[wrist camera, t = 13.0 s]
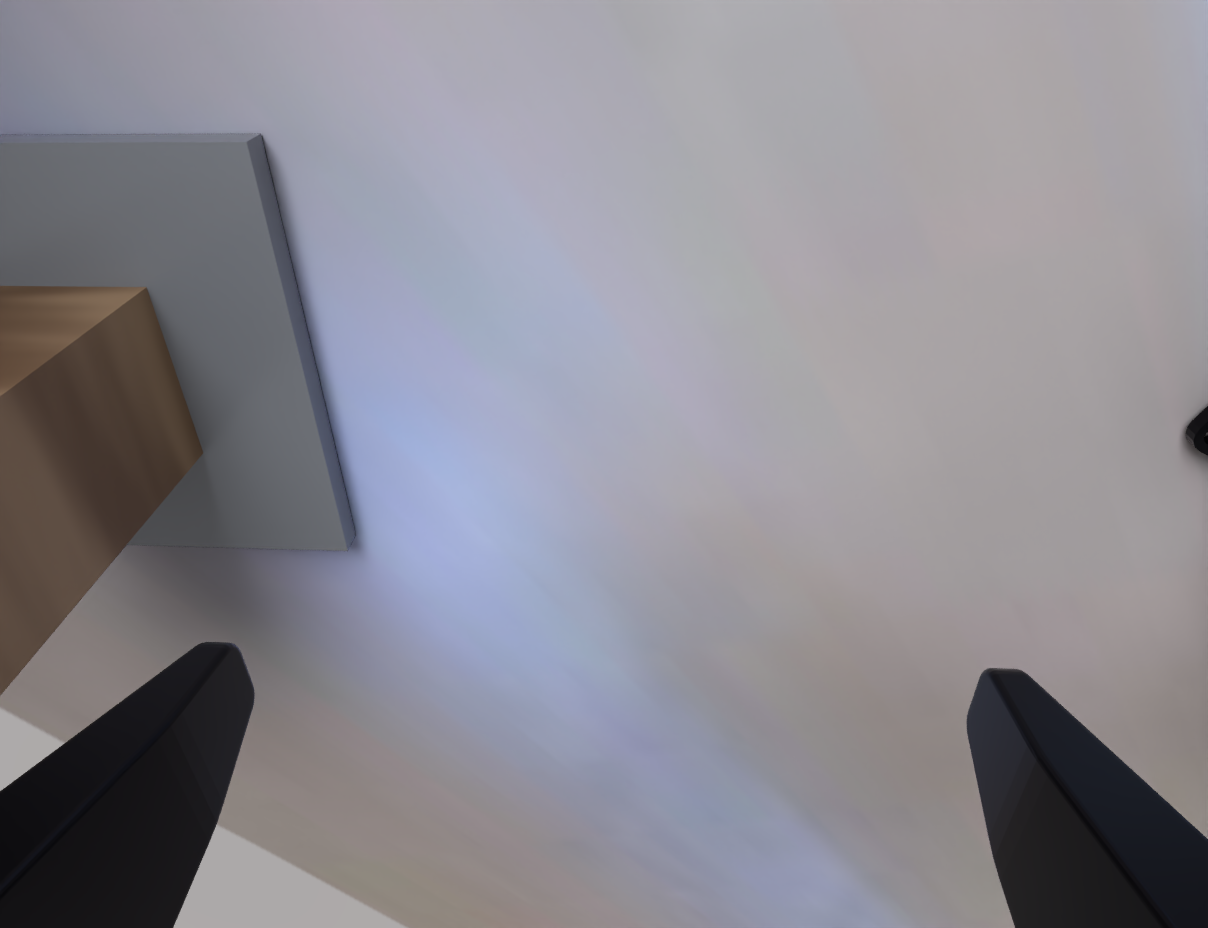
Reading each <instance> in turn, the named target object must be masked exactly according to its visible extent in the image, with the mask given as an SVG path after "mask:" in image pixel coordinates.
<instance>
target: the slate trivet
mask: <svg viewBox="0 0 1208 928" xmlns="http://www.w3.org/2000/svg"><path fill="white" fill-rule="evenodd" d="M0 286H76V287H147V290H148V293H149V296H150V299H151V302H152V304H153V307H154V310H155V313H156V316H157V319H158V322H159V325H160V328H161V331H162V334H163V337H164V339H165V342H166V345H167V348H168V351H169V354H170V357H171V360H172V363H173V366H174V369H175V371H176V374H177V377H178V380H179V383H180V386H181V389H182V392H183V395H184V398H185V401H186V404H187V406H188V409H189V412H190V415H191V418H192V421H193V424H194V427H195V430H196V433H197V436H198V439H199V441H200V444H201V447H202V450H203V454H202V455H201V457H200V458H199V459H198V460H197V461H196V463H195V464H194V465H193V466H192V467H191V468H190V470H189V471H188V472H187V473H186V474H185V476H184V477H183V478H182V479H181V480H180V482H179V483H178V484H177V485H176V486H175V488H174V489H173V490H172V491H171V492H170V494H169V495H168V496H167V497H166V498H165V500H164V501H163V502H162V503H161V504H160V505H159V507H158V508H157V509H156V510H155V511H154V513H153V514H152V515H151V516H150V517H149V519H148V520H147V521H146V522H145V523H144V525H143V526H142V527H141V528H140V529H139V531H138V532H137V533H136V534H135V535H134V537H133V538H132V539H131V540H130V541H129V543H128V544H127V545H148V546H184V547H220V548H255V549H291V550H327V551H348V550H349V548H350V546H351V543H352V541H353V539H354V537H355V535H356V533H355V529H354V525H353V520H352V516H351V512H350V508H349V504H348V499H347V495H346V491H345V487H344V482H343V478H342V474H341V470H340V466H339V461H338V457H337V453H336V449H335V444H334V440H333V436H332V432H331V428H330V423H329V419H328V415H327V411H326V407H325V402H324V398H323V394H322V390H321V385H320V381H319V377H318V373H317V369H316V364H315V360H314V356H313V352H312V347H311V343H310V339H309V335H308V331H307V326H306V322H305V318H304V314H303V309H302V305H301V301H300V297H299V293H298V288H297V284H296V280H295V276H294V271H293V267H292V263H291V259H290V255H289V250H288V246H287V242H286V238H285V233H284V229H283V225H282V221H281V217H280V212H279V208H278V204H277V200H276V195H275V191H274V187H273V183H272V179H271V174H270V170H269V166H268V162H267V157H266V153H265V149H264V145H263V141H262V136H261V134H70V135H0Z"/></svg>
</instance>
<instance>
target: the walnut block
mask: <svg viewBox="0 0 1208 928" xmlns="http://www.w3.org/2000/svg"><path fill="white" fill-rule="evenodd" d="M202 454H203V450H202V447H201V444H200V441H199V439H198V436H197V433H196V430H195V427H194V424H193V421H192V418H191V415H190V412H189V409H188V406H187V404H186V401H185V398H184V395H183V392H182V389H181V386H180V383H179V380H178V377H177V374H176V371H175V369H174V366H173V363H172V360H171V357H170V354H169V351H168V348H167V345H166V342H165V339H164V337H163V334H162V331H161V328H160V325H159V322H158V319H157V316H156V313H155V310H154V307H153V304H152V302H151V299H150V296H149V293H148V290H147V287H76V286H0V695H1V694H2V693H3V692H4V691H5V689H6V688H7V687H8V686H9V685H10V683H11V682H12V681H13V680H14V679H15V677H16V676H17V675H18V674H19V673H20V671H21V670H22V669H23V668H24V667H25V666H26V664H27V663H28V662H29V661H30V660H31V658H32V657H33V656H34V655H35V654H36V652H37V651H38V650H39V649H40V648H41V646H42V645H43V644H44V643H45V642H46V640H47V639H48V638H49V637H50V636H51V634H52V633H53V632H54V631H55V630H56V629H57V627H58V626H59V625H60V624H61V623H62V621H63V620H64V619H65V618H66V617H67V615H68V614H69V613H70V612H71V611H72V609H73V608H74V607H75V606H76V605H77V603H78V602H79V601H80V600H81V599H82V597H83V596H84V595H85V594H86V593H87V591H88V590H89V589H90V588H91V587H92V586H93V584H94V583H95V582H96V581H97V580H98V578H99V577H100V576H101V575H102V574H103V572H104V571H105V570H106V569H107V568H108V566H109V565H110V564H111V563H112V562H113V560H114V559H115V558H116V557H117V556H118V554H119V553H120V552H121V551H122V550H123V548H124V547H125V546H126V545H127V544H128V543H129V541H130V540H131V539H132V538H133V537H134V535H135V534H136V533H137V532H138V531H139V529H140V528H141V527H142V526H143V525H144V523H145V522H146V521H147V520H148V519H149V517H150V516H151V515H152V514H153V513H154V511H155V510H156V509H157V508H158V507H159V505H160V504H161V503H162V502H163V501H164V500H165V498H166V497H167V496H168V495H169V494H170V492H171V491H172V490H173V489H174V488H175V486H176V485H177V484H178V483H179V482H180V480H181V479H182V478H183V477H184V476H185V474H186V473H187V472H188V471H189V470H190V468H191V467H192V466H193V465H194V464H195V463H196V461H197V460H198V459H199V458H200V457H201V455H202Z"/></svg>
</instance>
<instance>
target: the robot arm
mask: <svg viewBox="0 0 1208 928" xmlns="http://www.w3.org/2000/svg"><path fill="white" fill-rule="evenodd" d="M1207 432H1208V406H1207V407H1206V408H1205V409H1204V410H1203V411H1202V412H1201V413H1200V414H1199V415H1198V416H1197V417H1196V418H1195V419H1194V420H1192V422H1191V423H1190V424H1189V425H1188V427H1187V430H1186V437H1187V439H1188V440H1189V441H1190V442H1191V444H1192V445H1193V446H1194V447H1195V448H1197V449H1198V450H1199V451H1200V452H1202V453H1204V454H1206V455H1208V436H1205V435H1206V433H1207ZM1204 436H1205V437H1204ZM254 694H255V693H254V687H253V683H252V681H251V678H250V675H249V673H248V670H247V667H246V665H245V662H244V659H243V657H242V654H241V652H240V650H239V648H238V647H237V646H236V645H235V644H232V643H220V642H205V643H201V644H199V645H197V646H195V647H194V648H193V649H191V650H190V651H189V652H187V653H186V654H185V655H183V656H182V657H180V658H179V659H178V660H176V661H175V662H174V663H172V664H171V665H170V666H168V667H167V668H166V669H164V670H163V671H162V672H160V673H159V674H158V675H156V676H155V677H154V678H152V679H151V680H149V681H148V682H147V683H145V684H144V685H143V686H141V687H140V688H139V689H137V690H136V691H135V692H133V693H132V694H131V695H129V696H128V697H127V698H125V699H124V700H123V701H121V702H120V703H119V704H117V705H116V706H114V707H113V708H112V709H110V710H109V711H108V712H106V713H105V714H104V715H102V716H101V717H100V718H98V719H97V720H96V721H94V722H93V723H92V724H90V725H89V726H88V727H86V728H85V729H84V730H82V731H81V732H79V733H78V734H77V735H75V736H74V737H73V738H71V739H70V740H69V741H67V742H66V743H65V744H63V745H62V746H61V747H59V748H58V749H57V750H55V751H54V752H53V753H51V754H50V755H49V756H47V757H46V758H44V759H43V760H42V761H41V762H39V763H38V764H36V765H35V766H34V767H32V768H31V769H30V770H28V771H27V772H26V773H24V774H23V775H22V776H20V777H19V778H18V779H16V780H15V781H14V782H12V783H11V784H10V785H8V786H7V787H6V788H4V789H3V790H1V791H0V928H173V927H174V924H175V922H176V920H177V917H178V915H179V912H180V910H181V908H182V905H183V903H184V901H185V898H186V896H187V894H188V891H189V889H190V886H191V884H192V882H193V880H194V877H195V875H196V872H197V870H198V868H199V865H200V863H201V861H202V858H203V856H204V854H205V851H206V849H207V847H208V844H209V842H210V839H211V836H212V834H213V832H214V829H215V827H216V824H217V822H218V819H219V816H220V813H221V810H222V807H223V804H224V800H225V797H226V794H227V791H228V787H229V784H230V781H231V778H232V774H233V771H234V768H235V764H236V761H237V758H238V755H239V751H240V748H241V745H242V741H243V738H244V735H245V732H246V728H247V725H248V722H249V718H250V715H251V712H252V709H253V705H254ZM967 734H968V739H969V744H970V749H971V754H972V758H973V763H974V768H975V773H976V778H977V783H978V788H979V793H980V797H981V802H982V807H983V812H984V817H985V822H986V827H987V832H988V837H989V841H990V845H991V850H992V854H993V858H994V862H995V865H996V869H997V872H998V876H999V879H1000V882H1001V885H1002V888H1003V892H1004V895H1005V898H1006V901H1007V904H1008V907H1009V910H1010V913H1011V916H1012V919H1013V922H1014V925H1015V928H1208V839H1207V838H1206V837H1205V836H1204V835H1203V834H1202V833H1200V832H1199V831H1198V830H1197V829H1196V828H1195V827H1194V826H1193V825H1192V824H1191V823H1190V822H1188V821H1187V820H1186V819H1185V818H1184V817H1183V816H1182V815H1181V814H1180V813H1179V812H1177V811H1176V810H1175V809H1174V808H1173V807H1172V806H1171V805H1170V804H1169V803H1168V802H1167V801H1165V800H1164V799H1163V798H1162V797H1161V796H1160V795H1159V794H1158V793H1157V792H1156V791H1155V790H1153V789H1152V788H1151V787H1150V786H1149V785H1148V784H1147V783H1146V782H1145V781H1144V780H1143V779H1141V778H1140V777H1139V776H1138V775H1137V774H1136V773H1135V772H1134V771H1133V770H1132V769H1131V768H1129V767H1128V766H1127V765H1126V764H1125V763H1124V762H1123V761H1122V760H1121V759H1120V758H1118V757H1117V756H1116V755H1115V754H1114V753H1113V752H1112V751H1111V750H1110V749H1109V748H1108V747H1106V746H1105V745H1104V744H1103V743H1102V742H1101V741H1100V740H1099V739H1098V738H1097V737H1096V736H1094V735H1093V734H1092V733H1091V732H1090V731H1089V730H1088V729H1087V728H1086V727H1085V726H1084V725H1082V724H1081V723H1080V722H1079V721H1078V720H1077V719H1076V718H1075V717H1074V716H1073V715H1071V714H1070V713H1069V712H1068V711H1067V710H1066V709H1065V708H1064V707H1063V706H1062V705H1061V704H1059V703H1058V702H1057V701H1056V700H1055V699H1054V698H1053V697H1052V696H1051V695H1050V694H1049V693H1047V692H1046V691H1045V690H1044V689H1043V688H1042V687H1041V686H1040V685H1039V684H1038V683H1037V682H1035V681H1034V680H1033V679H1032V678H1031V677H1030V676H1029V675H1028V674H1026V673H1025V672H1023V671H1021V670H1018V669H1000V668H989V669H986V670H984V671H983V673H982V674H981V676H980V678H979V681H978V684H977V687H976V690H975V693H974V696H973V699H972V702H971V705H970V708H969V711H968V715H967Z"/></svg>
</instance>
